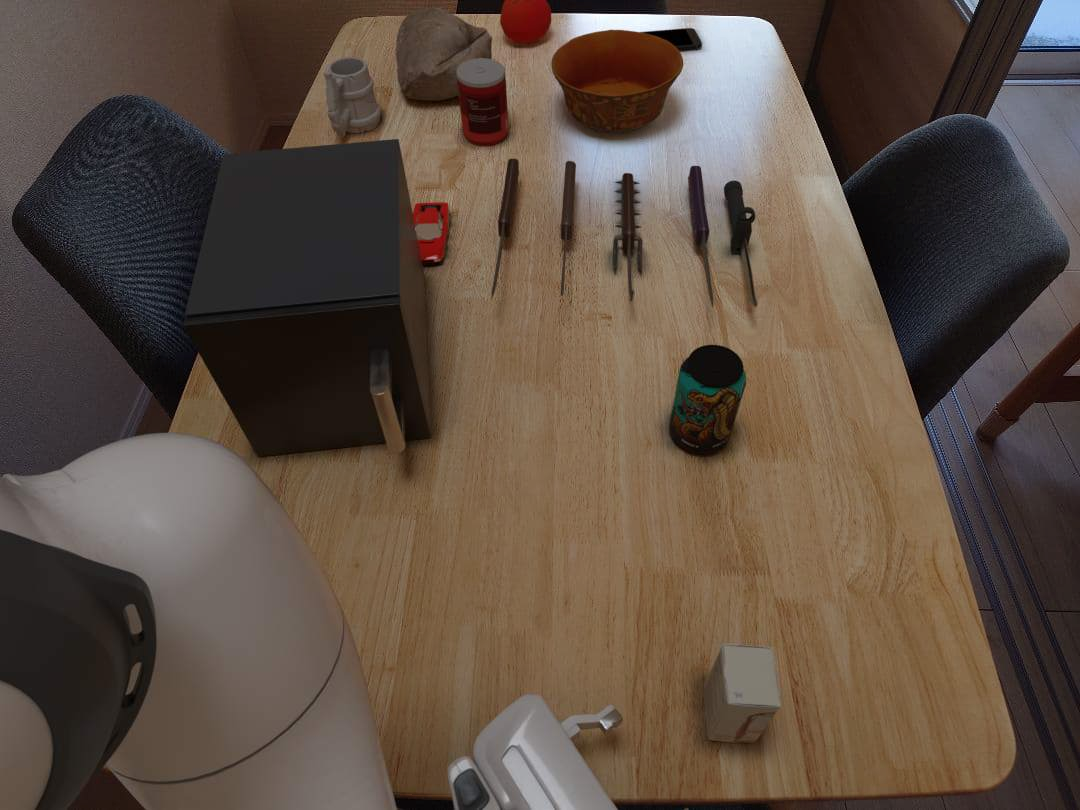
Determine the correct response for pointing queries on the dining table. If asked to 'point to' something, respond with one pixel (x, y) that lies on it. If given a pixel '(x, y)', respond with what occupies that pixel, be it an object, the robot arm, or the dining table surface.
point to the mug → (351, 96)
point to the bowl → (616, 77)
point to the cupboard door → (316, 375)
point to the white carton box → (741, 693)
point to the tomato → (525, 20)
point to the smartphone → (679, 37)
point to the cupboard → (313, 236)
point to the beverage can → (707, 399)
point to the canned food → (483, 101)
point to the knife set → (698, 215)
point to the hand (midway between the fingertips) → (653, 762)
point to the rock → (436, 52)
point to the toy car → (432, 230)
